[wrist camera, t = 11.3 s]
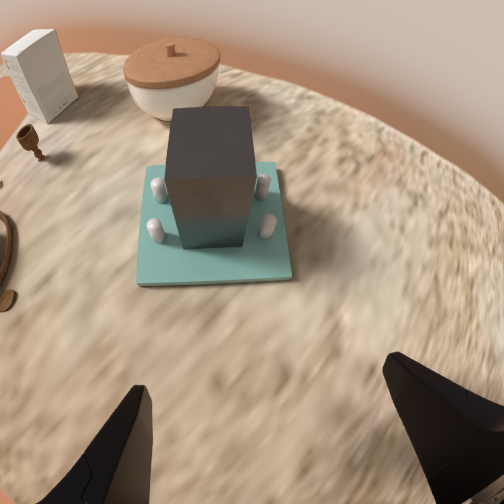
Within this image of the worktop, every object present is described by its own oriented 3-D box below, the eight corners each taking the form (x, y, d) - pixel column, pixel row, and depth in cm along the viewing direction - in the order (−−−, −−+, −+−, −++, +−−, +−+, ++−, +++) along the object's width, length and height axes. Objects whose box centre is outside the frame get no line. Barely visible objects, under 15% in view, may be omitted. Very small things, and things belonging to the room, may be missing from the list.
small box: (79, 97, 31) (56, 27, 19) (47, 125, 29) (15, 56, 17) (56, 88, 32) (34, 28, 20) (27, 113, 30) (-1, 54, 18)
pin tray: (289, 279, 25) (299, 267, 22) (139, 286, 23) (127, 274, 20) (273, 168, 29) (279, 146, 26) (148, 171, 27) (142, 150, 24)
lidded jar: (159, 78, 33) (153, 24, 25) (230, 90, 33) (235, 31, 25) (118, 126, 29) (100, 66, 21) (197, 143, 29) (193, 74, 21)
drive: (242, 246, 24) (257, 176, 15) (183, 249, 24) (164, 179, 14) (237, 187, 27) (248, 105, 17) (184, 188, 26) (173, 107, 17)
